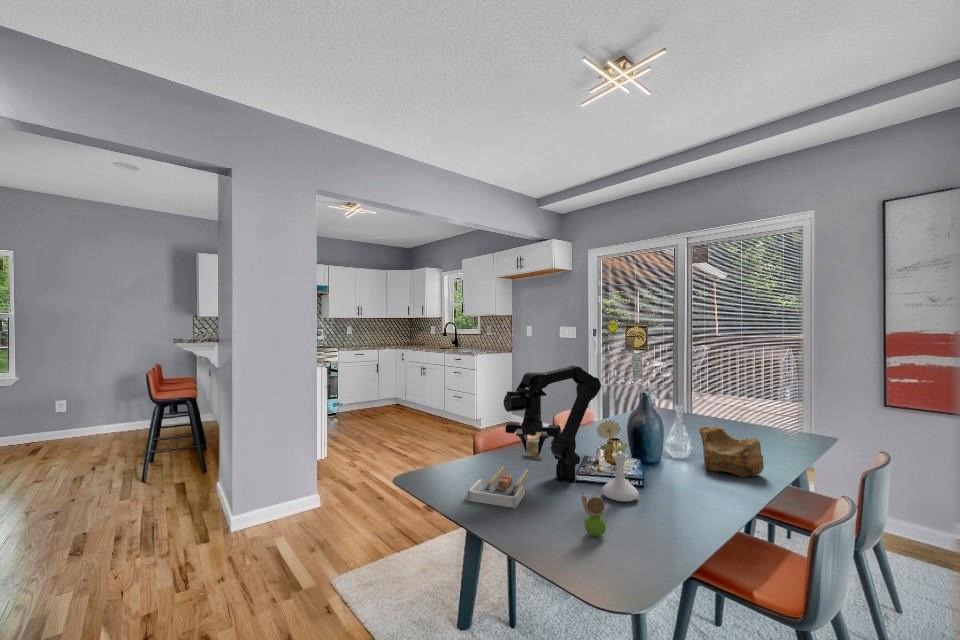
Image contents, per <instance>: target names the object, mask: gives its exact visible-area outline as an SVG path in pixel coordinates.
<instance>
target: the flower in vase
mask: <svg viewBox="0 0 960 640" xmlns="http://www.w3.org/2000/svg"><path fill="white" fill-rule="evenodd" d="M595 431H596V433H597V436H598V437H600V438H603V439H610V443H611V444H602V445H601V446H600V447H599V448H598V449H599V450H603V451H610V450H611V449H612V448H613V450H614V452H613V453H611V457H612V458H613V459H614V461H615V467H616V470H615V471H616V474H615V477H614V478H613V479H612V480H610V481H609V482H607V483H606V484H605V485H604V486H603V487H602V489H601V493H602V494H603V495H604V496H605V497H607V498H608V499H610V500H614V501H615V502H616V501H617V502H624V503H625V502H633V501H635V500H637V499H638V498H639V496H640V493H639V491H638V489H637V488H636V487H635V486H634V485H632V484H631V483H630V482H629V481H628V480H627V479H626V478H625V472H624V471H625V463H626V460H627V458H628V457H629V454H628V453H623V451H625V450H626V449H627V447H628V443H625V444H621V445H618V447H617V449H616V448H615V446H614V445H613V437H617V436H618V434H619V433H620V432H621V431H622V430H621V426H620V423H619V422H616V421H615V420H611V419H609V420H604V421H602V422H601V423H600V424H598V425H597V428H596V429H595Z"/></svg>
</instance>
